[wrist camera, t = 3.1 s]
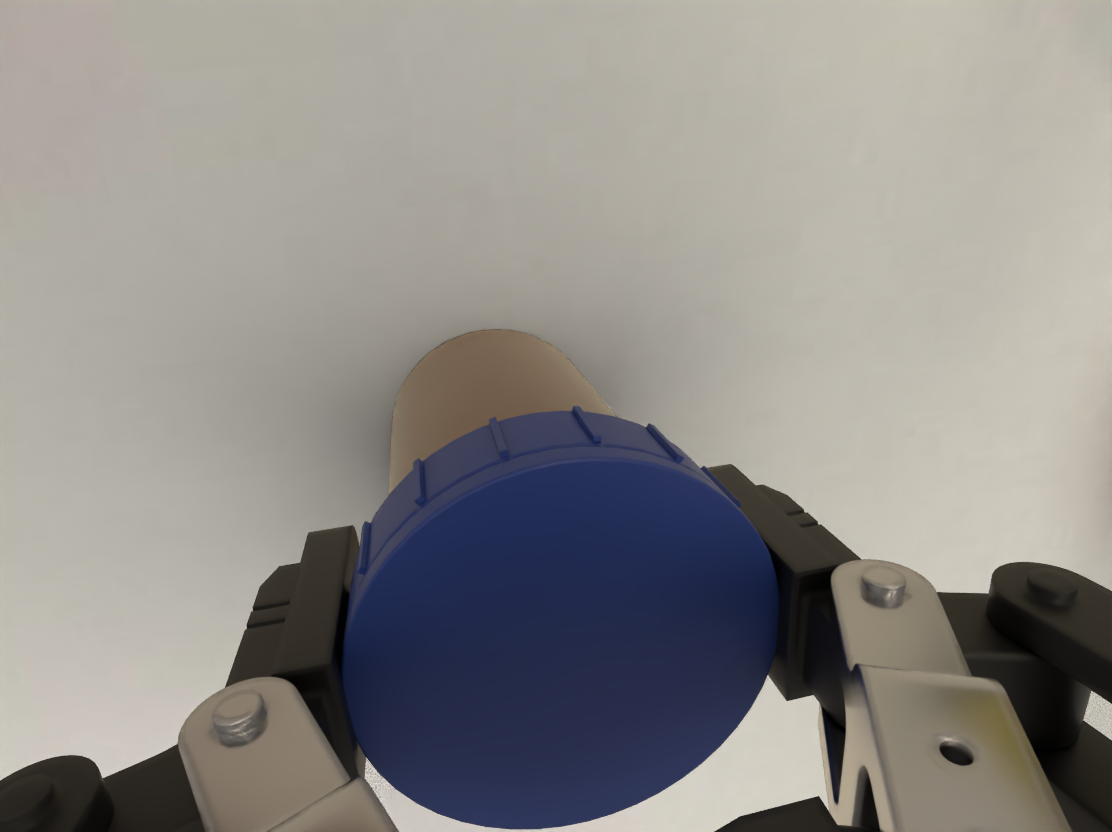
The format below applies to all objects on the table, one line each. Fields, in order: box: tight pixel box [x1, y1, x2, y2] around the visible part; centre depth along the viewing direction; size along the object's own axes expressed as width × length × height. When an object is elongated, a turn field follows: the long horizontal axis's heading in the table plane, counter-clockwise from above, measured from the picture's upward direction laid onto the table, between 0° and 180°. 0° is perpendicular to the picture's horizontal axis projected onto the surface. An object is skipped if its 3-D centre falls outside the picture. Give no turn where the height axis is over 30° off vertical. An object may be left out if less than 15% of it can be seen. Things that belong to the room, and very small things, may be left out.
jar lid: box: [341, 406, 779, 829], centre depth 10 cm, size 6×6×2 cm
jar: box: [388, 330, 617, 496], centre depth 14 cm, size 5×5×8 cm
